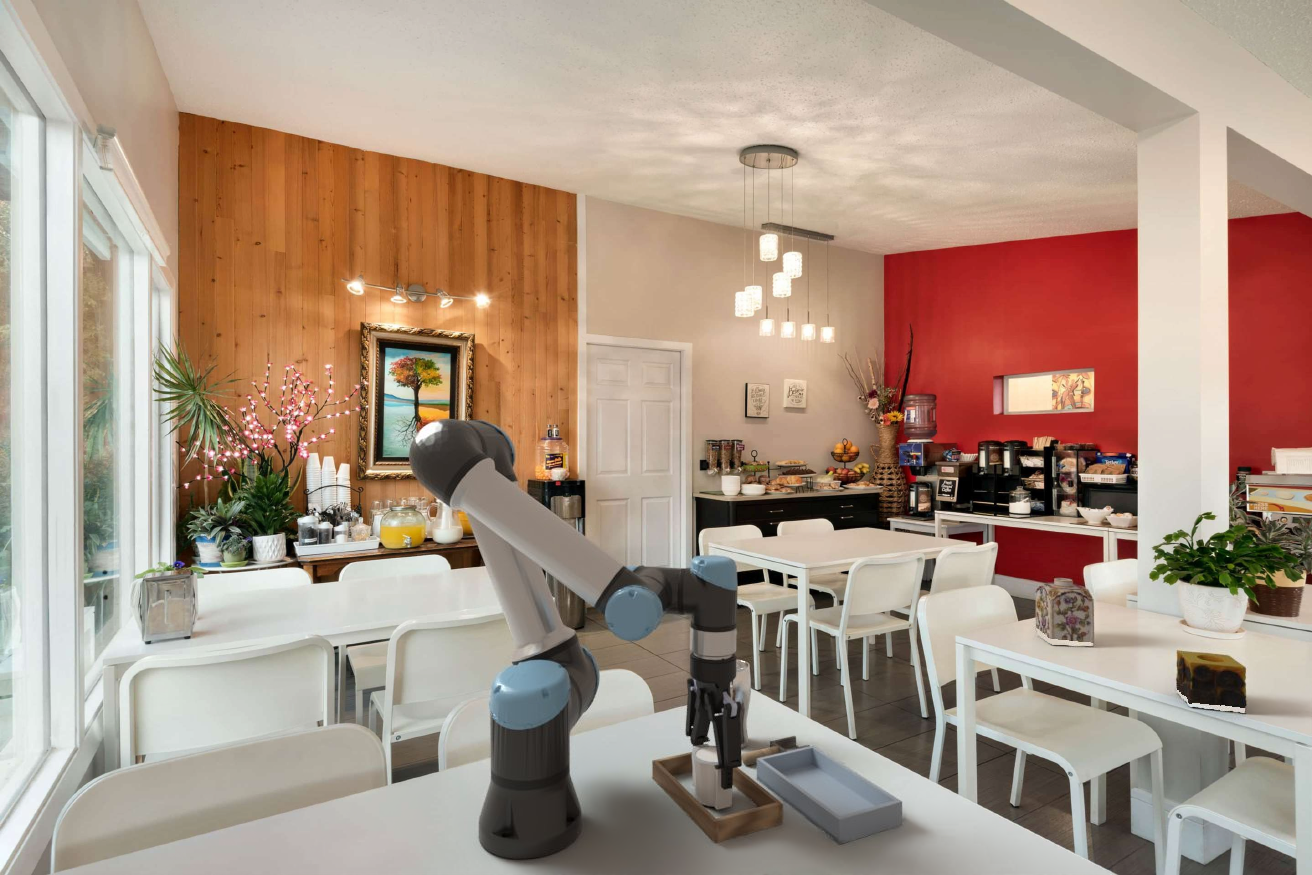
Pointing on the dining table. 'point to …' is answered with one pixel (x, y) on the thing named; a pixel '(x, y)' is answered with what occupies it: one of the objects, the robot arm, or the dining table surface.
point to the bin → (829, 794)
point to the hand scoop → (771, 749)
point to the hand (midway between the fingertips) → (711, 795)
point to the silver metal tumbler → (742, 696)
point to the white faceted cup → (704, 774)
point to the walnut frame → (713, 827)
